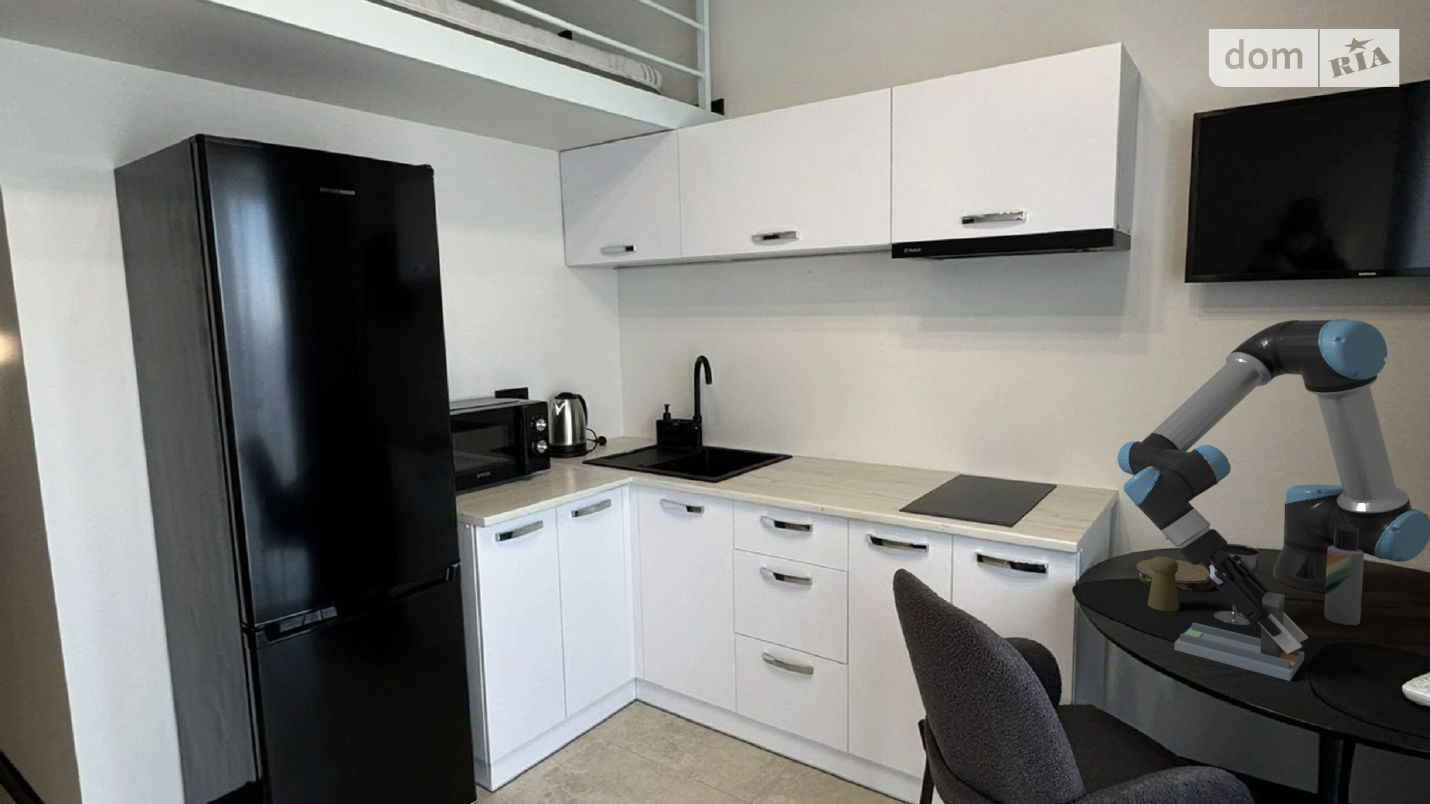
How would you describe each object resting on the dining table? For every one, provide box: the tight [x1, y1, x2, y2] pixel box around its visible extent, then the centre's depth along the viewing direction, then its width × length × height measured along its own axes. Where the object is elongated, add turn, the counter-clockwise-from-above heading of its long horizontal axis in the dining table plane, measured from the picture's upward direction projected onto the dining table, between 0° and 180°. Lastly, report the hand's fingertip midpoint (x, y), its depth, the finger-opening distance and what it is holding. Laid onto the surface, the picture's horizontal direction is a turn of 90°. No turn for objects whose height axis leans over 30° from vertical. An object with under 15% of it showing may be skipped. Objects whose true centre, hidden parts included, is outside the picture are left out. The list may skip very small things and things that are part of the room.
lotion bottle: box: [1323, 524, 1365, 626], centre depth 152 cm, size 6×6×20 cm
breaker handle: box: [1260, 591, 1286, 657], centre depth 135 cm, size 2×4×11 cm, turn 132°
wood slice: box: [1136, 558, 1215, 593], centre depth 179 cm, size 16×16×3 cm
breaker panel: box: [1174, 622, 1305, 682], centre depth 140 cm, size 18×11×3 cm, turn 42°
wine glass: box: [1213, 543, 1261, 626], centre depth 155 cm, size 8×8×15 cm
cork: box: [1147, 556, 1180, 612], centre depth 163 cm, size 6×6×11 cm
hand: (1297, 645), depth 133 cm, fingers closed on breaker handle, 4 cm apart
